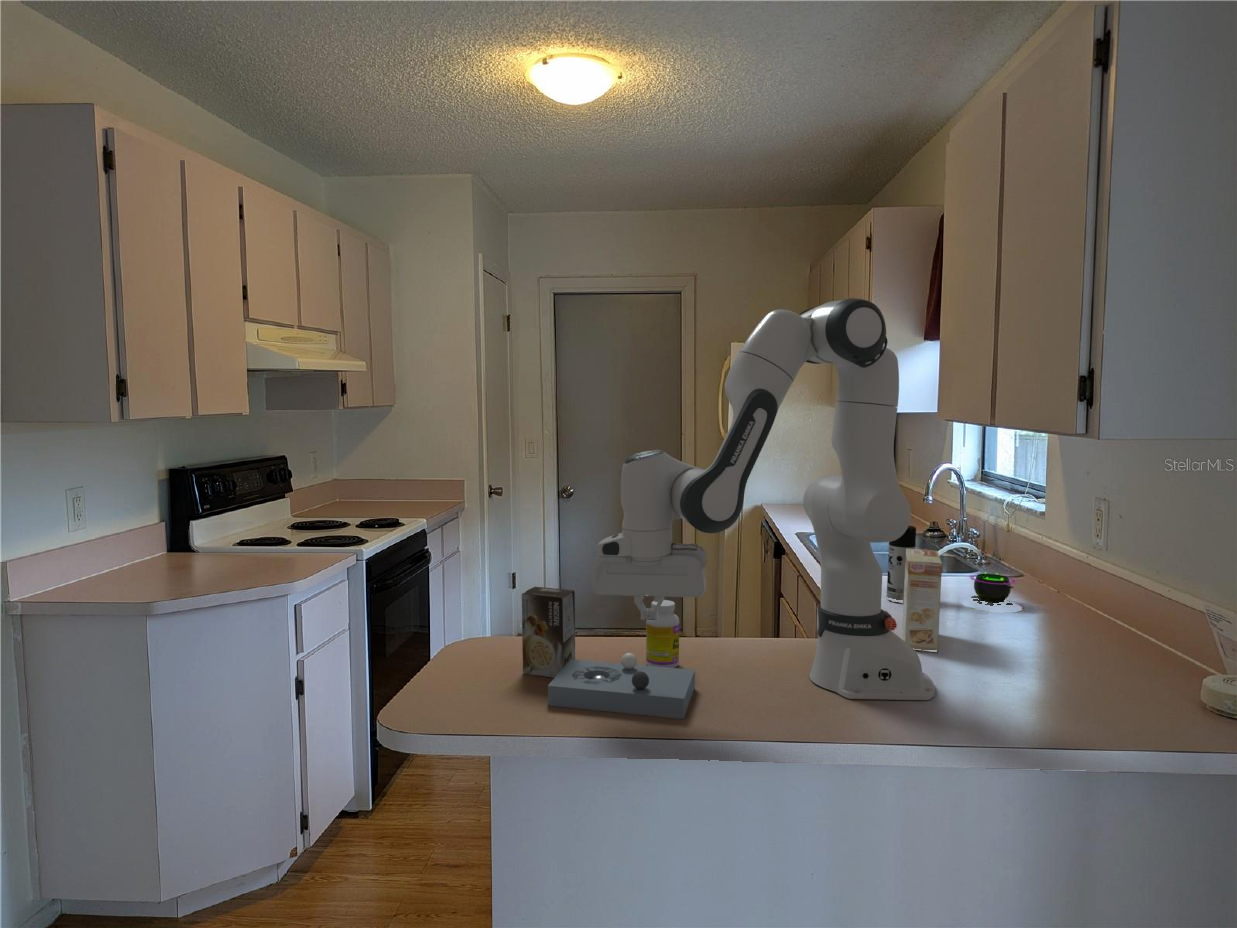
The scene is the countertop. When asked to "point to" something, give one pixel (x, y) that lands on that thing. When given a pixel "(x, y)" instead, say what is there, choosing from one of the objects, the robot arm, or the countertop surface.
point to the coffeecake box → (922, 599)
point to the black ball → (640, 680)
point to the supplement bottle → (663, 637)
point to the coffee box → (547, 630)
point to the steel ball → (598, 677)
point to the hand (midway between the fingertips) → (649, 619)
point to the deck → (622, 689)
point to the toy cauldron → (991, 588)
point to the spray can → (899, 563)
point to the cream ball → (628, 661)
